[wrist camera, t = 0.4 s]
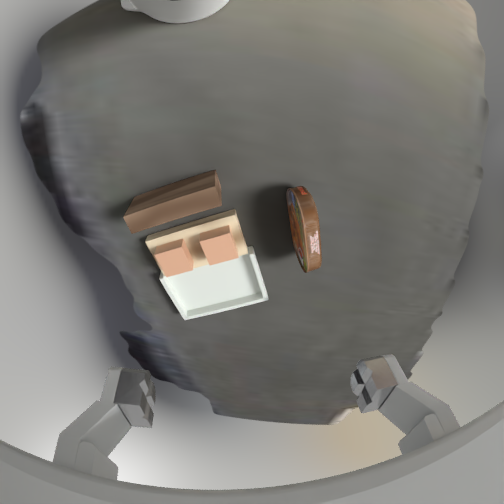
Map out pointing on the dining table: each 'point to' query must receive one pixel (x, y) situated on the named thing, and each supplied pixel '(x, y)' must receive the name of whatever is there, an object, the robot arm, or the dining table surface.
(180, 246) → the tile
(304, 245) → the tin
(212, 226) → the board
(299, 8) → the dining table surface
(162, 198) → the tall tan block
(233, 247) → the tile
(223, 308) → the tray
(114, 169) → the dining table surface
